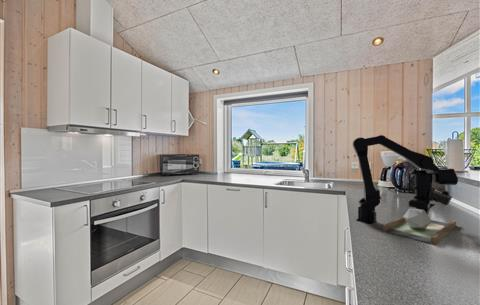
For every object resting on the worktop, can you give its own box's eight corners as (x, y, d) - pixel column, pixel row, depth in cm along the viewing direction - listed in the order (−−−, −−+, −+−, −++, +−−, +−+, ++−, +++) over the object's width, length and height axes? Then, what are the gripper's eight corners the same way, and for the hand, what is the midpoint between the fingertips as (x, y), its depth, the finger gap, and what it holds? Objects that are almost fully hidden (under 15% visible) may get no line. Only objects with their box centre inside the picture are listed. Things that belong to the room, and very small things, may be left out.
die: (426, 237, 86) (440, 217, 85) (403, 223, 89) (417, 204, 88) (416, 232, 93) (429, 214, 93) (396, 220, 96) (408, 202, 96)
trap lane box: (383, 231, 88) (383, 225, 88) (411, 216, 108) (411, 212, 108) (434, 245, 75) (434, 238, 75) (455, 225, 95) (455, 220, 95)
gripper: (443, 189, 81) (445, 231, 81) (454, 183, 92) (455, 220, 92) (407, 186, 90) (408, 223, 90) (421, 181, 101) (422, 214, 101)
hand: (424, 220), depth 93 cm, fingers closed
